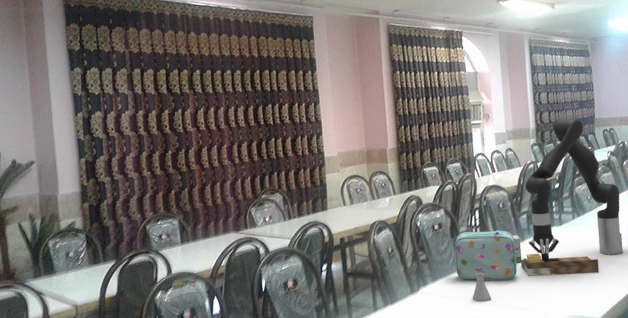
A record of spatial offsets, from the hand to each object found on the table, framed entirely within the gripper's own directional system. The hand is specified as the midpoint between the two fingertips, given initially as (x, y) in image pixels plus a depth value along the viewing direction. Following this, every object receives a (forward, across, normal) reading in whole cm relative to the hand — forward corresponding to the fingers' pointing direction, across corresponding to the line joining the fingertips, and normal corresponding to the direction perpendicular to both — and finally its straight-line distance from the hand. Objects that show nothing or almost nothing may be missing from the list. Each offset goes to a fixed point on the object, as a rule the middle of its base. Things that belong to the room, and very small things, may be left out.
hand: (545, 261), depth 264 cm
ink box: (+5, -10, +23) cm, 26 cm away
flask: (+4, -32, -34) cm, 47 cm away
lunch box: (+4, -26, -5) cm, 26 cm away
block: (+2, -5, -1) cm, 5 cm away
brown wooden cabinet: (+5, +6, +4) cm, 9 cm away
